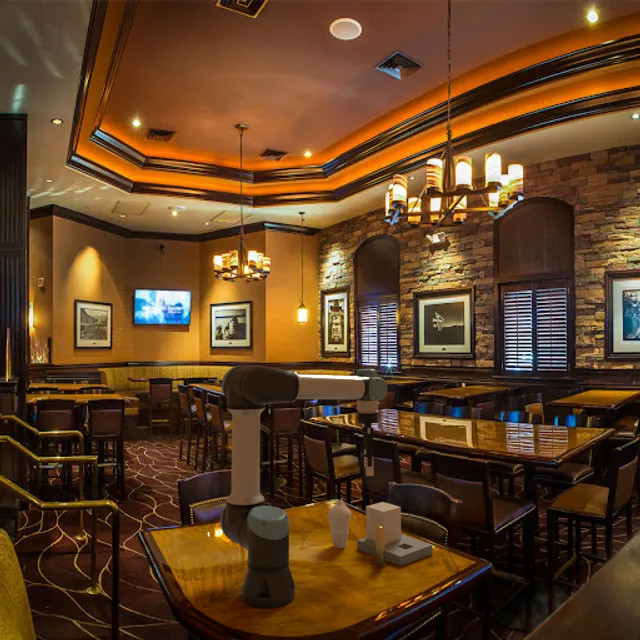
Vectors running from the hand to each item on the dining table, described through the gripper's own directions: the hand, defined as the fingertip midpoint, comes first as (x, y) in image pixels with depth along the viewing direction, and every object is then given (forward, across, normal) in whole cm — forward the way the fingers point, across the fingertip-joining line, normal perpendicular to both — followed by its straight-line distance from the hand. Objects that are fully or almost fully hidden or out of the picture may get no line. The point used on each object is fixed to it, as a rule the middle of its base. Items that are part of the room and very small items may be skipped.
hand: (368, 471), depth 193 cm
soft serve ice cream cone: (+26, -2, +11) cm, 28 cm away
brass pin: (+26, -19, -2) cm, 32 cm away
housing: (+23, -3, -4) cm, 23 cm away
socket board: (+26, -7, -8) cm, 28 cm away
